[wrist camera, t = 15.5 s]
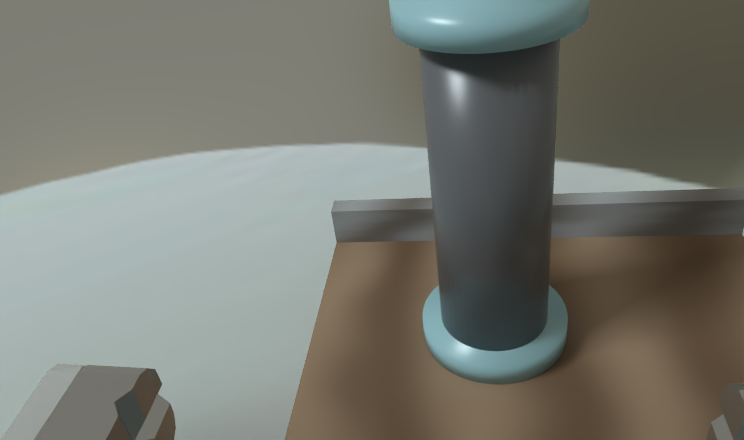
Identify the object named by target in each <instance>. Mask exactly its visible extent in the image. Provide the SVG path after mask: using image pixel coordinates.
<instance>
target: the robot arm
mask: <svg viewBox="0 0 744 440" xmlns="http://www.w3.org/2000/svg"><path fill="white" fill-rule="evenodd" d="M161 385H162V383H161V381H160V378H159V376H158V374H157V372H156V370H155V369H148V368H131V367H113V366H94V365H68V364H57V365H56V366H54V367H53V368H51V369H50V370H48V371H47V373H46V374H45V375H44V377H43V378H42V380H41V381H40V383H39V384H38V386H37V387H36V389H35V390H34V392H33V393H32V395H31V396H30V398H29V399H28V400H27V402H26V403H25V405H24V406H23V408H22V409H21V411H20V412H19V414H18V415H17V417H16V418H15V420H14V421H13V423H12V424H11V426H10V427H9V429H8V430H7V432H6V433H5V434H4V436H3V437H2V439H1V440H174V435H175V428H176V427H175V418H174V413H173V410H172V407H171V405H170V403H169V402H168V401H166V400H165V399H164V398H162V397H161V396H160V395H158V392H159V390H160V387H161ZM718 402H719V404H720V407H721V409H722V412H723V415H721V416H720V417H718V418H717V419H715V420H714V421H712V422H711V424H710V428H709V431H708V435H707V438H706V440H744V383H729V384H728V385H726V386H725V387H724V388H723V390H722V392H721V395H720V398H719V401H718Z"/></svg>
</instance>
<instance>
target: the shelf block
mask: <svg viewBox="0 0 744 440" xmlns="http://www.w3.org/2000/svg"><path fill="white" fill-rule="evenodd" d="M331 213H332V219H333V224H334V230H335V235H336V241H337V244H336V248H335V251H334V255H333V259H332V263H331V266H330V270H329V274H328V278H327V282H326V285H325V289H324V293H323V297H322V301H321V304H320V308H319V312H318V316H317V319H316V323H315V327H314V331H313V335H312V338H311V342H310V346H309V350H308V354H307V357H306V361H305V365H304V369H303V372H302V376H301V380H300V384H299V388H298V391H297V395H296V399H295V403H294V407H293V410H292V414H291V418H290V422H289V426H288V429H287V433H286V437H285V440H706V438H707V435H708V431H709V428H710V424H711V422H712V421H714V420H715V419H717V418H718V417H720V416H721V415H723V412H722V409H721V407H720V404H719V402H718V401H719V398H720V395H721V392H722V390H723V388H724V387H725V386H726V385H728V384H729V383H744V237H743V235H742V232H743V228H744V188H730V189H698V190H666V191H634V192H602V193H570V194H553V208H552V230H551V253H550V275H549V285H550V286H551V287H552V288H553V289H554V290H555V291H556V292H557V293H558V294H559V295H560V297H561V298H562V300H563V302H564V304H565V306H566V309H567V314H568V324H567V338H566V344H565V348H564V350H563V352H562V354H561V356H560V357H559V359H558V360H557V361H556V362H555V363H554V364H553V365H552V366H551V367H550V368H549V369H547V370H546V371H544V372H543V373H541V374H539V375H537V376H535V377H533V378H530V379H528V380H525V381H521V382H517V383H510V384H485V383H479V382H474V381H471V380H467V379H464V378H462V377H459V376H457V375H455V374H453V373H451V372H450V371H448V370H447V369H445V368H444V367H443V366H441V365H440V364H439V363H438V362H437V361H436V360H435V359H434V357H433V356H432V355H431V353H430V351H429V350H428V347H427V345H426V342H425V337H424V328H423V308H424V305H425V302H426V300H427V298H428V296H429V295H430V293H431V292H432V291H433V290H434V289H435V288H436V287H437V286H438V285H439V282H438V270H437V257H436V245H435V233H434V221H433V209H432V198H411V199H379V200H347V201H334V204H333V207H332V211H331Z"/></svg>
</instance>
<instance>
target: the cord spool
mask: <svg viewBox="0 0 744 440" xmlns="http://www.w3.org/2000/svg"><path fill="white" fill-rule="evenodd" d="M389 4H390V14H391V23H392V31H393V34H394V35H395V36H396V38H398V39H399V40H400V41H402V42H404V43H406V44H407V45H410V46H413V47H416V48H419V51H420V63H421V75H422V87H423V99H424V112H425V123H426V134H427V148H428V160H429V172H430V185H431V197H432V209H433V221H434V233H435V245H436V257H437V270H438V282H439V285H438V286H437V287H436V288H435V289H434V290H433V291H432V292H431V293H430V295H429V296H428V298H427V300H426V302H425V305H424V308H423V328H424V337H425V342H426V345H427V347H428V350H429V351H430V353H431V355H432V356H433V357H434V359H435V360H436V361H437V362H438V363H439V364H440V365H441V366H443V367H444V368H445V369H447V370H448V371H450V372H451V373H453V374H455V375H457V376H459V377H462V378H464V379H467V380H471V381H474V382H479V383H485V384H510V383H517V382H521V381H525V380H528V379H530V378H533V377H535V376H537V375H539V374H541V373H543V372H544V371H546V370H547V369H549V368H550V367H551V366H552V365H553V364H554V363H555V362H556V361H557V360H558V359H559V357H560V356H561V354H562V352H563V350H564V348H565V344H566V338H567V324H568V314H567V309H566V306H565V304H564V302H563V300H562V298H561V297H560V295H559V294H558V293H557V292H556V291H555V290H554V289H553V288H552V287H551V286H550V285H549V275H550V253H551V230H552V208H553V185H554V163H555V141H556V140H555V139H556V118H557V117H556V116H557V93H558V72H559V51H560V39H561V38H563V37H566V36H568V35H570V34H571V33H573V32H575V31H576V30H578V29H579V28H581V27H582V26H583V25H584V24H585V23H586V21H587V19H588V16H589V5H590V0H389Z"/></svg>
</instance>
